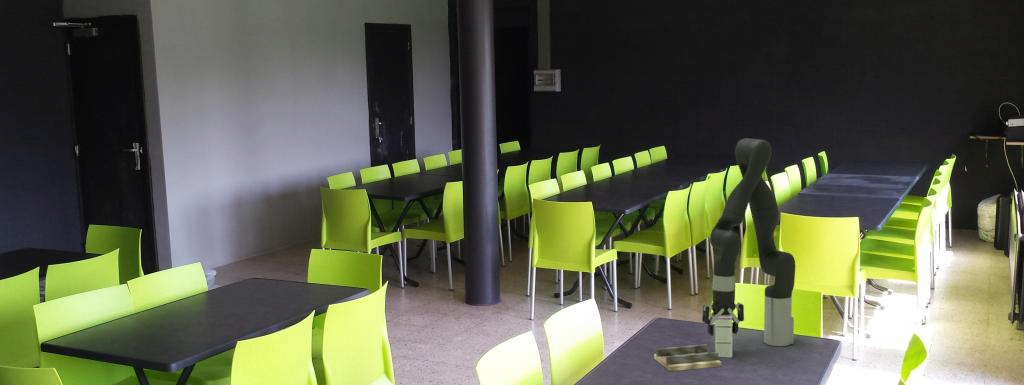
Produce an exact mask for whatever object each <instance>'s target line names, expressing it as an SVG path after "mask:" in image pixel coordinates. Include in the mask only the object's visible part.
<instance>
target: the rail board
mask: <svg viewBox="0 0 1024 385" xmlns="http://www.w3.org/2000/svg"><path fill="white" fill-rule="evenodd" d="M718 354H719V353H718V352H715V351H713V352H708V344H707V343H705V344H704V343H703V344H694V345H693V344H692V345H681V346H673V347H670V346H669V347H661V348H656V352H655V353H653V358H654V360H656V362H658V363H659V364H660V365H661V366H663V367H664V368H665V369H666V370H667V371H669V372H675V371H677V372H678V371H679V372H680V371H687V370H696V369H697V370H698V369H707V368H718V367H719V368H721V367H722V361H720V360H719V357H718Z"/></svg>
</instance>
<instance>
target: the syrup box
mask: <svg viewBox="0 0 1024 385" xmlns="http://www.w3.org/2000/svg"><path fill="white" fill-rule="evenodd" d="M732 322H733V320H732V315H720V316H719V317H718V319H717V320H715V322H714V345H715V346H714V352H718V353H719V354H718V358H733V333H732Z"/></svg>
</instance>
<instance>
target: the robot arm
mask: <svg viewBox="0 0 1024 385" xmlns="http://www.w3.org/2000/svg"><path fill="white" fill-rule="evenodd" d="M736 143H737V144H736V146H735V151H734V153H735V160H736V162H737V165H738V168H739V172H740V174H741V177H742V179H741V180H740V181H739V183H738V184H737V185H736V186H735V187H734V188H733V190H732V191H731V192H730V194H729V195H728V197H727V200H726V203H725V205H724V208H723V211H722V215H721V216H720V217H719V219H718V220H717V222H716V224H715V225H714V227H713V228H712V230H711V232H710V235H709V242H710V244H711V247H712V248H714V249H716V250H719V251H721V254H720V256H717V257H716V258H715V259H714V260H713V274H712V275H713V277H712V288H711V290H712V291H711V292H712V293H711V294H712V298H711V299H712V304H711V305H706V304H703V306H702V318H701V321H702V322H703V323H704V324H706V325H707V333H708V335H709V336H715V320H717V319H718V317H719V316H720V315H732V334H734V335H737V334H738V332H739V323H740V322H744V321H745V312H744V310H745V309H744V308H745V307H744V304H743V303H741V302H737V303H735V301H736V276H735V275H736V273H735V272H736V261H737V258H738V254H739V252H740V247H741V239H740V237H739V236H740V235H738V233H737V232H735V231H733V230H732V229H733V228H735V226H739V225H742V223H743V220H744V217H745V214H746V211H747V208H748V206H749V210H750V214H751V218H752V221H753V222H752V223H753V226H754V232H755V236H756V237H755V238H756V242H757V250H758V251H757V252H758V261H759V267H760V269H761V271H762V272H763V273H764V274H766V275H768V276H771V277H774V283H773V284H771V285H767V286H765V288H764V320H763V322H764V323H763V324H764V325H763V326H764V328H763V331H764V332H763V342H764V344H766V345H768V346H772V347H787V346H790V345H793V344H794V339H795V338H794V334H795V333H794V330H795V326H794V325H795V318H794V317H793V316H792V314H793V313H792V308H793V307H792V306H793V304H792V303H793V300H792V299H793V290H794V289H795V282H796V281H795V278H796V259H795V257H794V255H793V254H792V253H790V252H788V251H787V252H786V251H783V250H778V249H777V246H776V244H775V231H776V228H777V226H778V223H779V220H780V211H779V206H778V202H777V198H776V195H775V193H774V192H773V190H772V189H771V188H770V186H769V185H768V183H767V182H766V180H765V179H764V177H763V174H764V172H765V171H766V169H767V167H768V164H769V162H770V160H771V159H772V158H771V157H772V154H773V153H772V152H773V151H772V150H773V149H772V145H771V144H770V143H769V142H768V141H767V140H765V139H758V138H742V139H740V140H738V141H737V142H736ZM711 310H712V313H710V312H711ZM735 310H736V312H737V315H736V314H735V313H734V312H735Z"/></svg>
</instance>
